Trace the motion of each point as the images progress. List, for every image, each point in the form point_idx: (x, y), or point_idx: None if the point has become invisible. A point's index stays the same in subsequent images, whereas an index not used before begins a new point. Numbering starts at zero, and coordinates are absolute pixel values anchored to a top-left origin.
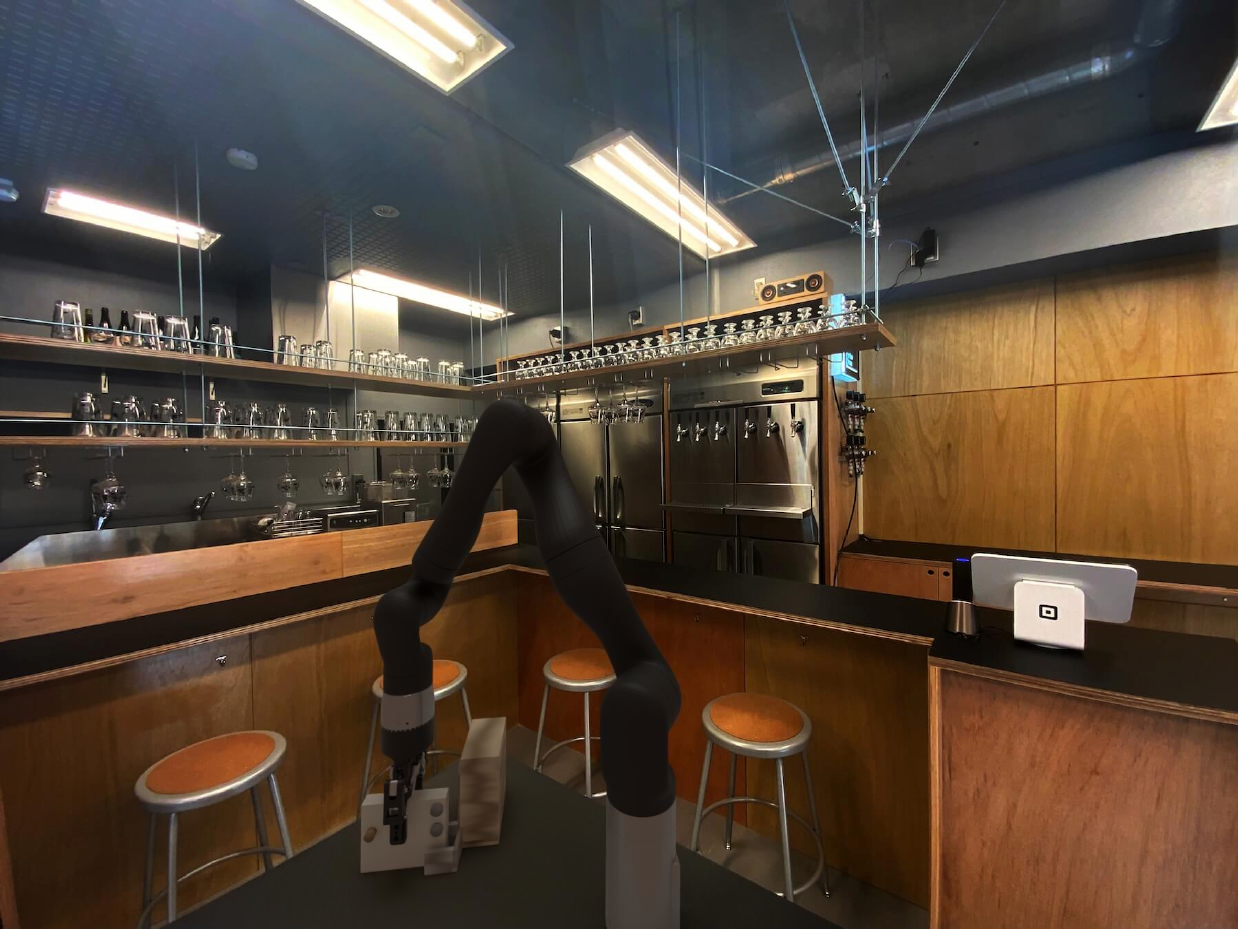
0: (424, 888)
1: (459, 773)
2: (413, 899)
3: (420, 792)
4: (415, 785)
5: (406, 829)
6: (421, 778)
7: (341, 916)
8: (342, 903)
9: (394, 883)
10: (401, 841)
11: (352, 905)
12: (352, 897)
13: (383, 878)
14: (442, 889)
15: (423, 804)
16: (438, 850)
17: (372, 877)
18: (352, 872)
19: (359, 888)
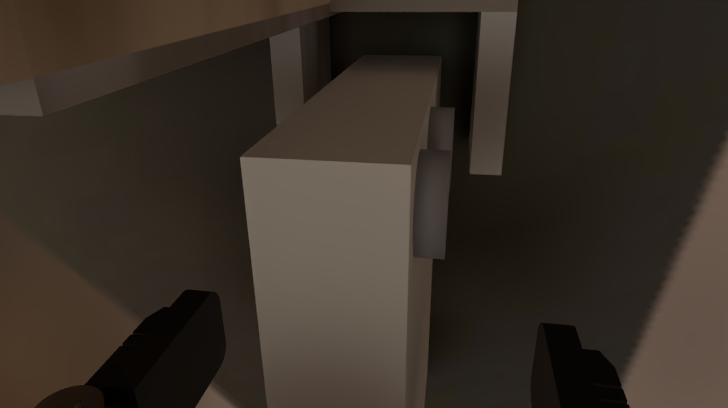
0: (570, 124)
1: (125, 66)
2: (619, 159)
3: (301, 391)
4: (162, 398)
5: (577, 374)
6: (115, 393)
7: None
8: None
9: (506, 251)
10: (607, 361)
11: None
12: None
13: (470, 294)
14: (602, 35)
15: (410, 332)
16: (494, 102)
17: (456, 331)
18: None
19: (499, 361)
